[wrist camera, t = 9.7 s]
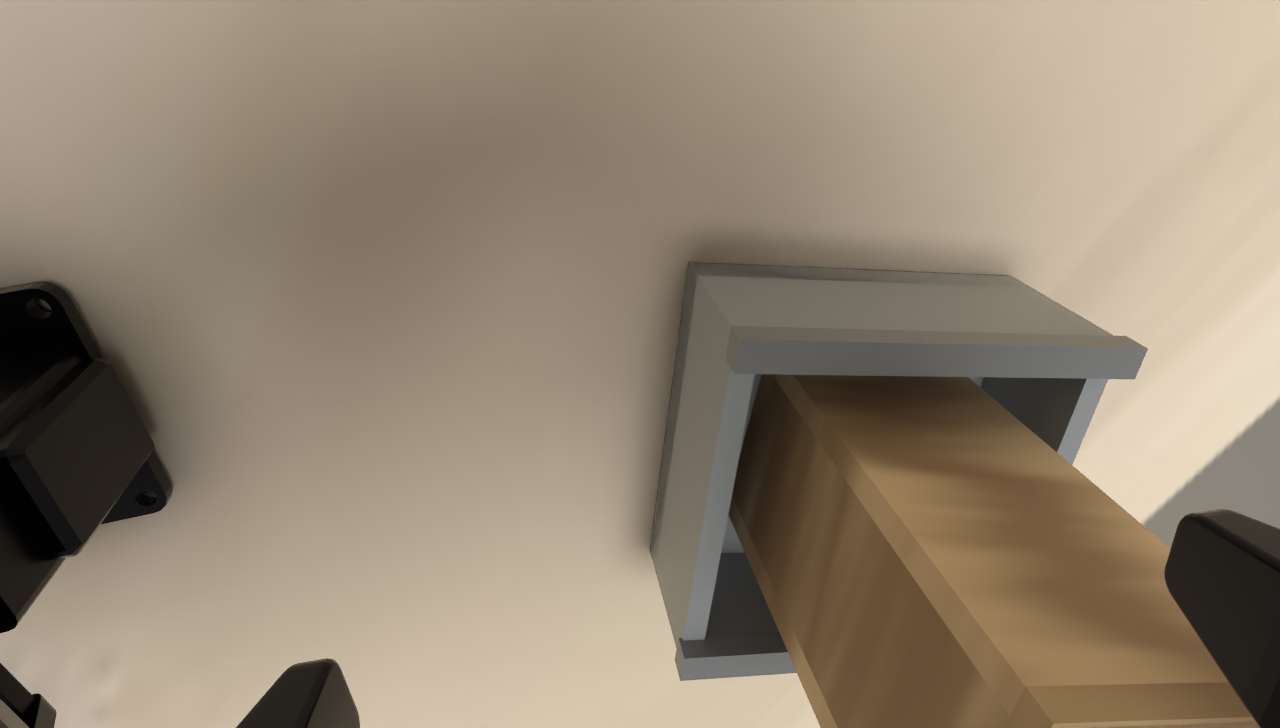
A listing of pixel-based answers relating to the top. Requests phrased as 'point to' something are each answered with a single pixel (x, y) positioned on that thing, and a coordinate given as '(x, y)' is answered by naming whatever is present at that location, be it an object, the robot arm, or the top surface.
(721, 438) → the large crate
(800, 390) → the small crate
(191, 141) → the top surface
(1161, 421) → the top surface
